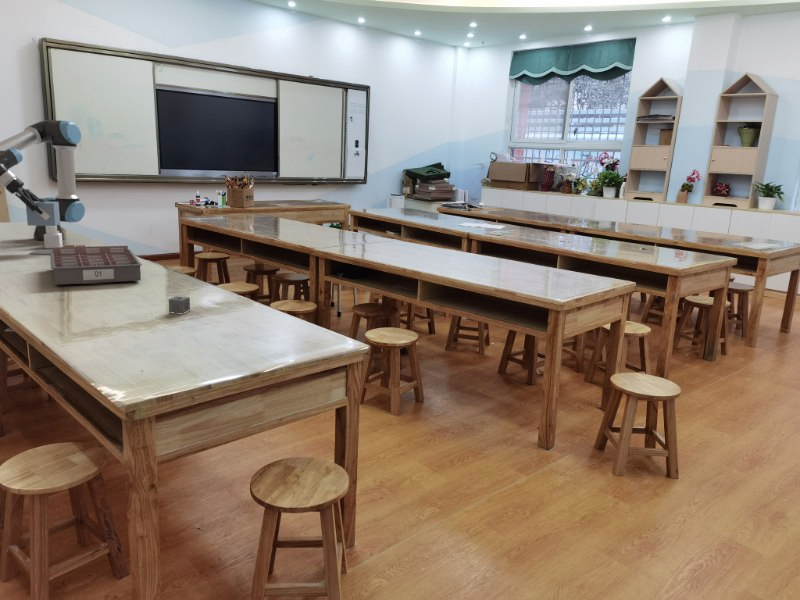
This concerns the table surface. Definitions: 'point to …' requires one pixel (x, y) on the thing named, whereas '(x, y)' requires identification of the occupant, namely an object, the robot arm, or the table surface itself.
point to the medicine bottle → (52, 237)
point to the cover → (49, 208)
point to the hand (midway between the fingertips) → (51, 217)
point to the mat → (41, 252)
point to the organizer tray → (94, 264)
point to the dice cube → (179, 304)
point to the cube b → (80, 246)
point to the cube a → (69, 246)
